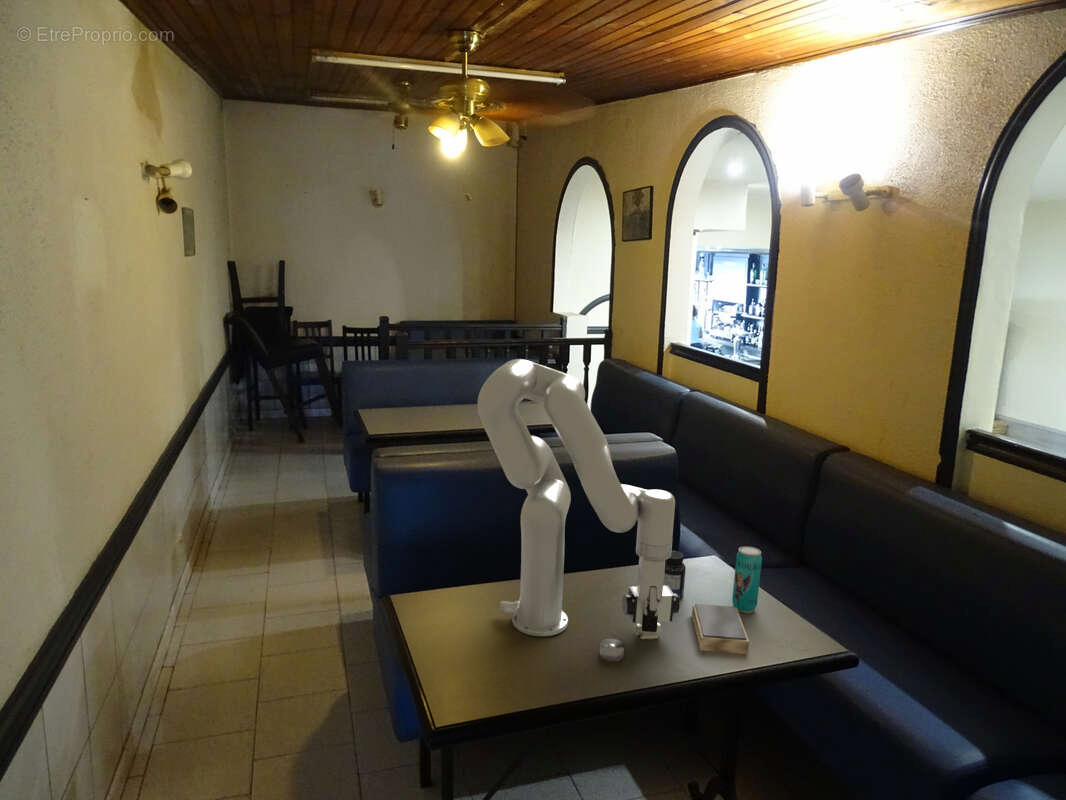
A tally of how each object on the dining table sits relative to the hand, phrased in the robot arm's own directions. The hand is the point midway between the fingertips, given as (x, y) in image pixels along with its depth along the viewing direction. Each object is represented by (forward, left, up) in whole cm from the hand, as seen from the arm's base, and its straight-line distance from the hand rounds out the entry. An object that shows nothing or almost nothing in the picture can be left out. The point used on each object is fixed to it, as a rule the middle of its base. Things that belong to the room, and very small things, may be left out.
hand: (648, 623), depth 162 cm
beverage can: (+24, +16, -3) cm, 29 cm away
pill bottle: (+7, +20, -3) cm, 21 cm away
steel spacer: (-8, -9, -3) cm, 12 cm away
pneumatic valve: (0, 0, -3) cm, 3 cm away
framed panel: (+16, +3, -3) cm, 17 cm away
